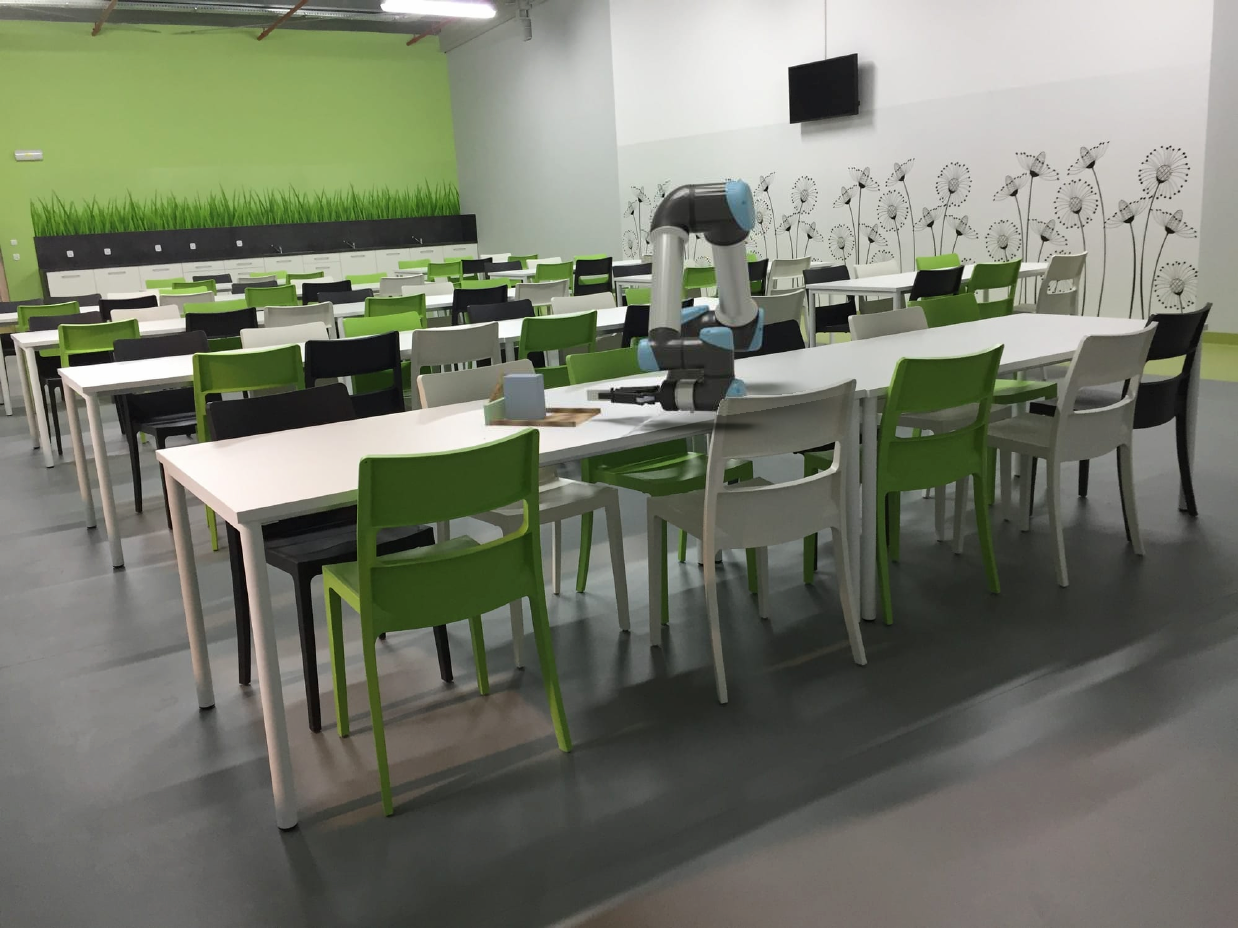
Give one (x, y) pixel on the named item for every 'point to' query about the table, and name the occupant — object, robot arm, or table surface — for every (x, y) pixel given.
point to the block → (524, 397)
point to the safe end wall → (495, 410)
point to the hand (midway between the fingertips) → (588, 394)
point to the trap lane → (554, 418)
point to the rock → (498, 390)
